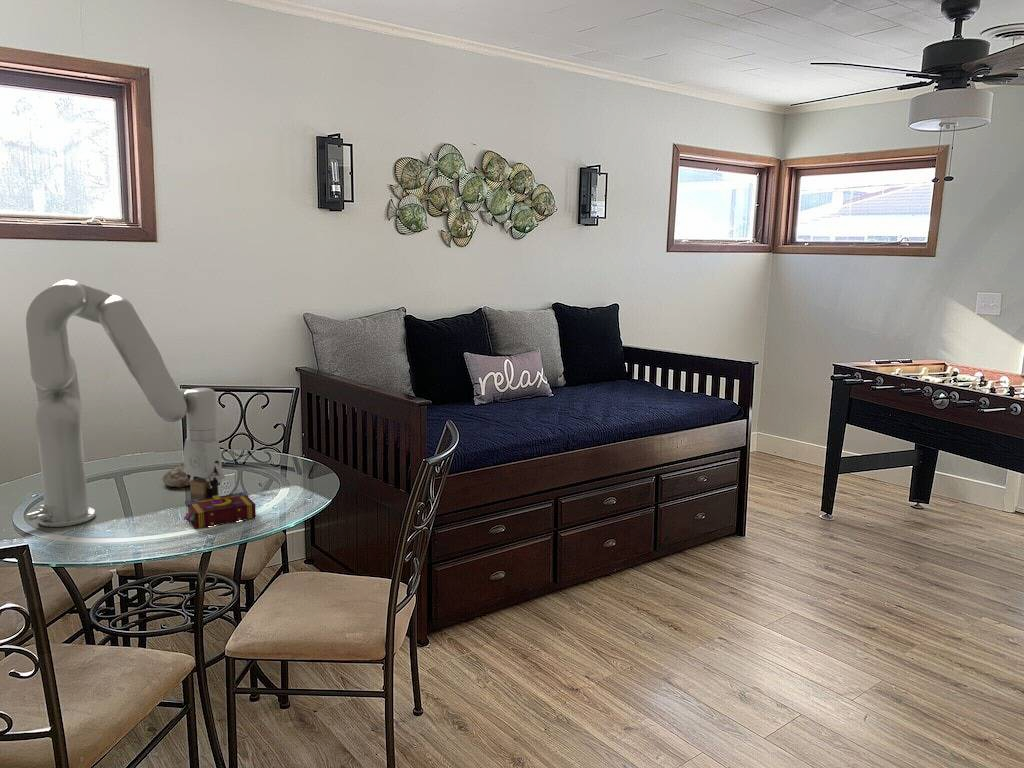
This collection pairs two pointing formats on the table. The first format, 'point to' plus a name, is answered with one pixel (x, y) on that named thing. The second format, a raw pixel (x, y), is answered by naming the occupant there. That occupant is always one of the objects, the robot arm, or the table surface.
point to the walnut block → (199, 488)
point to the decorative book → (220, 509)
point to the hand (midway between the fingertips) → (204, 498)
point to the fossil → (176, 477)
